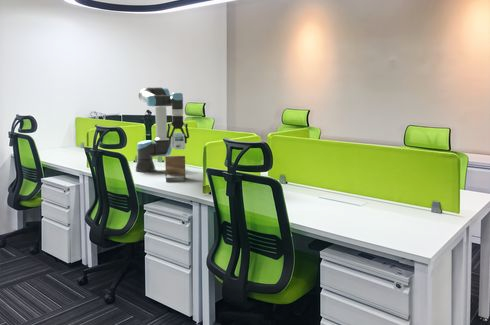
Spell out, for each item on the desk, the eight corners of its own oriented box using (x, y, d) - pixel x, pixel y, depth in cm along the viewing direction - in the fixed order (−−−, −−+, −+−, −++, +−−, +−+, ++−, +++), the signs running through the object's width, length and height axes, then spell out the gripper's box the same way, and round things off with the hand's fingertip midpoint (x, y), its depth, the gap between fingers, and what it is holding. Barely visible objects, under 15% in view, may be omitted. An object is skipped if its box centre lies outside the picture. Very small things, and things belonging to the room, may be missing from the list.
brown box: (165, 177, 317) (165, 155, 314) (185, 177, 318) (185, 155, 316) (164, 181, 302) (164, 159, 300) (184, 181, 304) (184, 158, 301)
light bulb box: (184, 149, 302) (184, 133, 300) (175, 149, 299) (174, 134, 297) (181, 147, 312) (180, 132, 310) (171, 147, 309) (171, 132, 307)
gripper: (161, 115, 298) (162, 148, 301) (192, 115, 298) (192, 148, 302) (163, 114, 305) (163, 147, 309) (193, 115, 305) (193, 147, 309)
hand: (178, 148), depth 305 cm, fingers closed on light bulb box, 8 cm apart
